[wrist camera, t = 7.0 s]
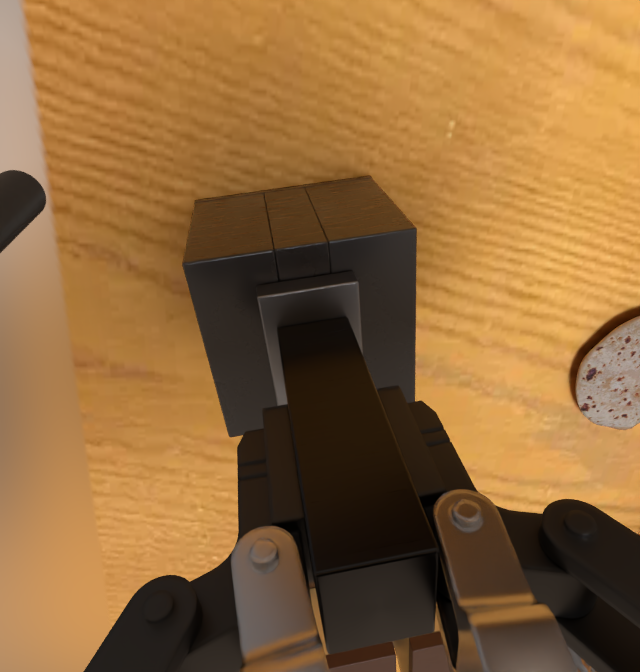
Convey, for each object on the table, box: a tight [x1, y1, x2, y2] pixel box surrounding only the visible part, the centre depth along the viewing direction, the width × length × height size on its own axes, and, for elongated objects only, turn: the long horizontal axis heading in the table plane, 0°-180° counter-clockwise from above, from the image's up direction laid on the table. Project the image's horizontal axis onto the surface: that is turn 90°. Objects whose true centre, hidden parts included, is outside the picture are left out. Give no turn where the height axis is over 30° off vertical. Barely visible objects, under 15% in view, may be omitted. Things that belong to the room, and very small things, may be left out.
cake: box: [310, 588, 396, 672], centre depth 33 cm, size 6×9×5 cm, turn 6°
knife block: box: [182, 176, 417, 437], centre depth 19 cm, size 7×7×6 cm
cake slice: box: [393, 613, 450, 672], centre depth 34 cm, size 3×9×5 cm, turn 6°
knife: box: [256, 271, 439, 654], centre depth 15 cm, size 3×5×14 cm, turn 6°
